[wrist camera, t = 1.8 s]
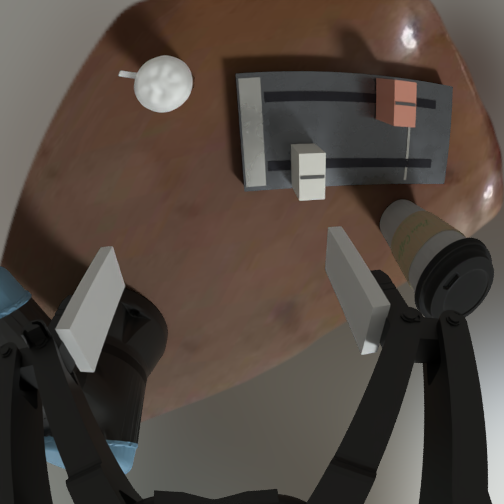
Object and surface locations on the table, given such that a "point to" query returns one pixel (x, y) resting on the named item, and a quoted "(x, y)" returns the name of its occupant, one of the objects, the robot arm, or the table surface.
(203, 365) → the table surface
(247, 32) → the table surface
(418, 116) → the console
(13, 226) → the table surface
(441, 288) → the coffee cup
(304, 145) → the fader
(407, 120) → the fader
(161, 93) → the milkshake
